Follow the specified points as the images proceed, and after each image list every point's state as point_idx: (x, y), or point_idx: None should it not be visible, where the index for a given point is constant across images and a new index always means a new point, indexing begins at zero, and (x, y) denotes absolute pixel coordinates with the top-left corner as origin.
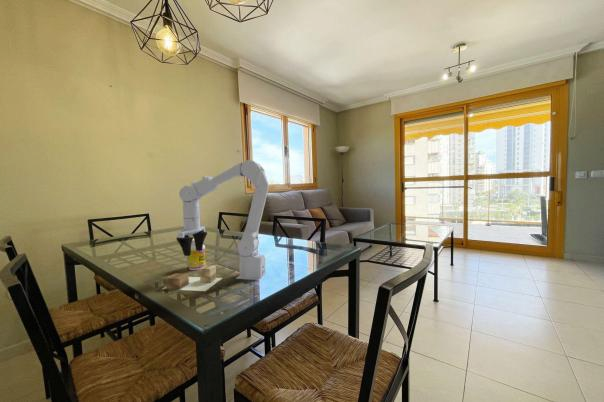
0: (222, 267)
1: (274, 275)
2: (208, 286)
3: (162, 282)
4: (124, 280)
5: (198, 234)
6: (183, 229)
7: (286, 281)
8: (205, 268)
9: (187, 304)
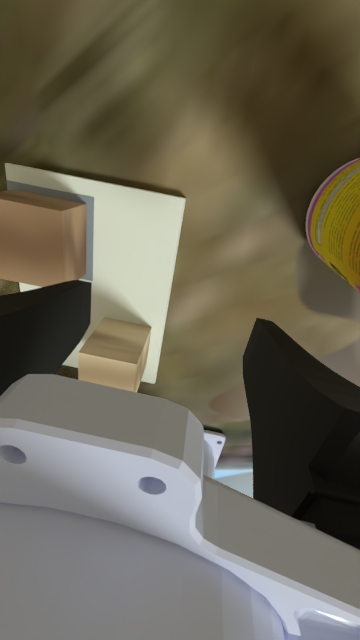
0: (337, 348)
1: None
2: (68, 357)
3: (116, 86)
4: None
5: (285, 490)
6: (5, 477)
7: None
8: (84, 375)
9: None
